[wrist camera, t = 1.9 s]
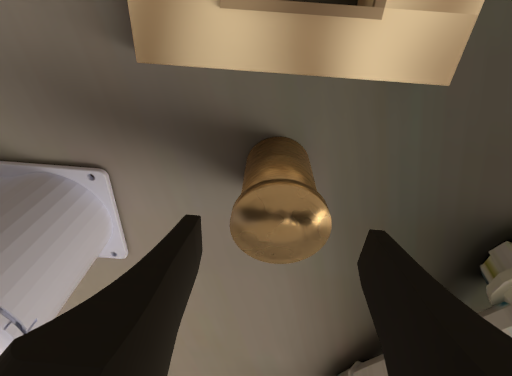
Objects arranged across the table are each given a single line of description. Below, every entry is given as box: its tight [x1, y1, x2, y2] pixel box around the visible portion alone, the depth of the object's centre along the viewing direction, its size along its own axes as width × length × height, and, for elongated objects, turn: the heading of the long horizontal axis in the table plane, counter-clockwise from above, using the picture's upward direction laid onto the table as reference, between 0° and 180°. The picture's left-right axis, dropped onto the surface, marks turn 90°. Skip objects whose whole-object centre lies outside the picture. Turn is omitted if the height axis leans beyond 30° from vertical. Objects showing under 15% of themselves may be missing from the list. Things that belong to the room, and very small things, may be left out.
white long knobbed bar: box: [337, 241, 512, 376], centre depth 24 cm, size 5×7×25 cm
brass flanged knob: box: [230, 137, 331, 264], centre depth 15 cm, size 5×5×6 cm
